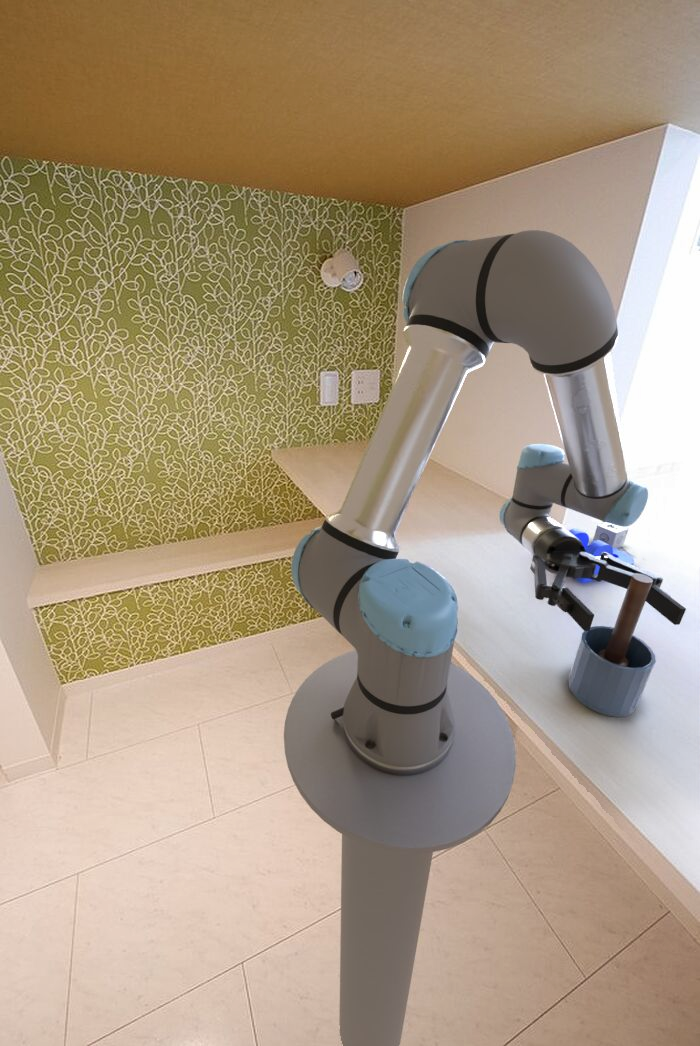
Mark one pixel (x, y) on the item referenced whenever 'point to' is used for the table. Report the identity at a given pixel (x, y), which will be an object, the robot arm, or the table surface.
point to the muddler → (627, 620)
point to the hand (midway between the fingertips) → (635, 620)
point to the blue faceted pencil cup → (609, 674)
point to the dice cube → (611, 534)
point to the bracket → (599, 551)
